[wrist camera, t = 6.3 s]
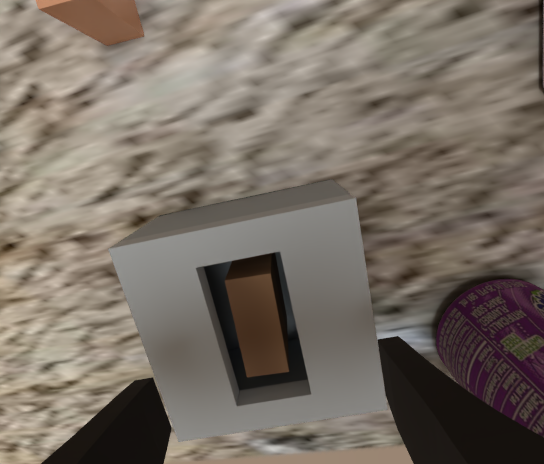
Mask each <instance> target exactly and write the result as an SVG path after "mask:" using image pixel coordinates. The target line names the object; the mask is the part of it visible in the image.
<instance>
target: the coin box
mask: <svg viewBox="0 0 544 464" xmlns="http://www.w3.org/2000/svg"><path fill="white" fill-rule="evenodd" d="M108 250H109V253H110V255H111V258H112V261H113V264H114V266H115V269H116V272H117V275H118V277H119V280H120V283H121V286H122V288H123V291H124V294H125V296H126V299H127V302H128V305H129V307H130V310H131V313H132V316H133V318H134V321H135V324H136V326H137V329H138V332H139V335H140V337H141V340H142V343H143V346H144V348H145V351H146V354H147V357H148V359H149V362H150V365H151V367H152V370H153V373H154V376H155V378H156V381H157V384H158V387H159V389H160V392H161V395H162V398H163V400H164V403H165V406H166V408H167V411H168V414H169V417H170V419H171V422H172V425H173V428H174V430H175V433H176V436H177V439H178V441H179V442H182V441H188V440H195V439H201V438H208V437H214V436H221V435H227V434H234V433H240V432H247V431H253V430H260V429H266V428H273V427H279V426H286V425H292V424H299V423H305V422H312V421H318V420H325V419H331V418H338V417H344V416H351V415H357V414H364V413H370V412H377V411H383V410H387V403H386V397H385V390H384V383H383V376H382V370H381V363H380V356H379V350H378V343H377V336H376V330H375V323H374V316H373V309H372V303H371V296H370V289H369V283H368V276H367V269H366V263H365V256H364V249H363V243H362V236H361V229H360V222H359V216H358V209H357V202H356V198H355V197H354V196H353V195H351V194H350V193H349V192H347V191H346V190H345V189H344V188H342V187H341V186H340V185H339V184H337V183H336V182H335V181H334V180H332V179H331V180H326V181H321V182H317V183H312V184H307V185H302V186H298V187H293V188H288V189H283V190H279V191H274V192H269V193H265V194H260V195H255V196H250V197H246V198H241V199H236V200H231V201H227V202H222V203H217V204H212V205H208V206H203V207H198V208H193V209H189V210H184V211H179V212H175V213H170V214H165V215H160V216H159V217H157V218H155V219H154V220H152V221H151V222H149V223H148V224H146V225H145V226H143V227H141V228H140V229H138V230H137V231H135V232H134V233H132V234H131V235H129V236H128V237H126V238H124V239H123V240H121V241H120V242H118V243H117V244H115V245H114V246H112V247H111V248H109V249H108ZM274 252H275V254H276V259H277V265H278V270H279V276H280V281H281V287H282V292H283V298H284V303H285V309H286V314H287V331H288V356H289V372H284V373H277V374H269V375H262V376H254V377H247V375H246V371H245V366H244V362H243V358H242V353H241V349H240V345H239V341H238V336H237V332H236V328H235V323H234V319H233V315H232V310H231V306H230V302H229V297H228V293H227V289H226V285H225V278H226V276H227V273H228V271H229V268H230V265H231V263H232V261H233V260H238V259H244V258H249V257H254V256H259V255H264V254H269V253H274Z"/></svg>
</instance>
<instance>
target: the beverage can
mask: <svg viewBox="0 0 544 464" xmlns="http://www.w3.org/2000/svg"><path fill="white" fill-rule="evenodd" d="M436 345H437V350H438V353H439V356H440V358H441V360H442V362H443V363H444V365H445V366H446V367H447V369H448V370H449V371H450V373H451V374H452V376H453V377H454V378H455V380H456V381H457V382H458V384H459V385H460V386H462V387H463V388H465V389H466V390H467V391H469V392H470V393H472V394H473V395H475V396H476V397H478V398H479V399H481V400H482V401H484V402H485V403H486V404H488V405H490V406H491V407H493V408H494V409H496V410H497V411H499V412H501V413H502V414H504V415H506V416H507V417H509V418H511V419H513V420H514V421H516V422H518V423H519V424H521V425H523V426H524V427H526V428H528V429H530V430H531V431H533V432H535V433H537V434H539V435H541V436H542V437H544V290H542V289H541V288H539V287H537V286H536V285H533V284H531V283H529V282H525V281H522V280H516V279H499V280H493V281H488V282H485V283H482V284H479V285H477V286H475V287H473V288H471V289H469V290H467V291H466V292H464V293H463V294H461V295H460V296H459V297H458V298H457V299H455V300H454V301H453V302H452V304H451V305H450V306H449V307H448V308H447V310H446V311H445V313H444V314H443V316H442V318H441V320H440V323H439V326H438V329H437V335H436Z"/></svg>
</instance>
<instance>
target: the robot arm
mask: <svg viewBox="0 0 544 464" xmlns="http://www.w3.org/2000/svg"><path fill="white" fill-rule="evenodd" d="M543 88H544V0H543ZM378 346H379V353H380V359H381V366H382V373H383V379H384V386H385V393H386V397H387V400H388V403H389V406H390V409H391V411H392V414H393V417H394V420H395V423H396V426H397V428H398V431H399V433H400V435H401V437H402V439H403V442H404V444H405V446H406V448H407V450H408V452H409V454H410V457H411V459H412V461H413V463H414V464H544V437H542V436H541V435H539V434H537V433H535V432H533V431H531V430H530V429H528V428H526V427H524V426H523V425H521V424H519V423H518V422H516V421H514V420H513V419H511V418H509V417H507V416H506V415H504V414H502V413H501V412H499V411H497V410H496V409H494V408H493V407H491V406H490V405H488V404H486V403H485V402H484V401H482V400H481V399H479V398H478V397H476V396H475V395H473V394H472V393H470V392H469V391H467V390H466V389H465V388H463V387H462V386H460V385H459V384H458V383H456V382H455V381H454V380H452V379H451V378H450V377H448V376H447V375H446V374H444V373H443V372H442V371H440V370H439V369H438V368H436V367H435V366H434V365H433V364H431V363H430V362H429V361H428V360H426V359H425V358H424V357H423V356H421V355H420V354H419V353H418V352H417V351H415V350H414V349H413V348H412V347H411V346H409V345H408V344H407V343H406V342H405V341H404V340H402V339H401V338H400V337H398V336H396V337H390V338H384V339H378ZM170 433H171V425H170V422H169V420H168V417H167V414H166V412H165V409H164V406H163V404H162V401H161V398H160V395H159V393H158V390H157V387H156V385H155V382H154V379H153V378H147V379H141V380H135V381H134V382H133V383H131V384H130V385H129V386H128V387H127V388H125V389H124V390H123V391H122V392H121V393H120V394H119V395H117V396H116V397H115V398H114V399H113V400H112V401H111V402H110V403H109V404H108V405H106V406H105V407H104V408H103V409H102V410H101V411H100V412H99V413H98V414H97V415H96V416H94V417H93V418H92V419H91V420H90V421H89V422H88V423H87V424H86V425H85V426H84V427H82V428H81V429H80V430H79V431H78V432H77V433H76V434H75V435H74V436H72V437H71V438H70V439H69V440H68V441H67V442H66V443H64V444H63V445H62V446H61V447H60V448H59V449H57V450H56V451H55V452H54V453H53V454H52V455H51V456H49V457H48V458H47V459H46V460H45V461H44V462H42V463H41V464H163V463H164V459H165V455H166V451H167V447H168V442H169V437H170Z"/></svg>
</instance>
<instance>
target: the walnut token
mask: <svg viewBox="0 0 544 464" xmlns="http://www.w3.org/2000/svg"><path fill="white" fill-rule="evenodd" d="M225 285H226V289H227V293H228V297H229V302H230V306H231V310H232V315H233V319H234V323H235V328H236V332H237V336H238V341H239V345H240V349H241V353H242V358H243V362H244V366H245V371H246V375H247V377H254V376H262V375H269V374H277V373H284V372H289V356H288V331H287V314H286V309H285V303H284V298H283V292H282V287H281V281H280V276H279V270H278V265H277V259H276V254H275V252H274V253H269V254H264V255H259V256H254V257H249V258H244V259H238V260H233V261H232V263H231V265H230V268H229V271H228V273H227V276H226V278H225Z"/></svg>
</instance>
